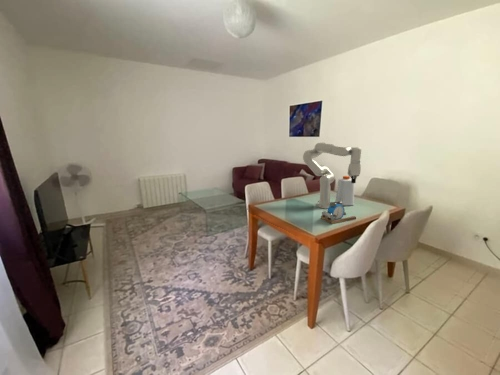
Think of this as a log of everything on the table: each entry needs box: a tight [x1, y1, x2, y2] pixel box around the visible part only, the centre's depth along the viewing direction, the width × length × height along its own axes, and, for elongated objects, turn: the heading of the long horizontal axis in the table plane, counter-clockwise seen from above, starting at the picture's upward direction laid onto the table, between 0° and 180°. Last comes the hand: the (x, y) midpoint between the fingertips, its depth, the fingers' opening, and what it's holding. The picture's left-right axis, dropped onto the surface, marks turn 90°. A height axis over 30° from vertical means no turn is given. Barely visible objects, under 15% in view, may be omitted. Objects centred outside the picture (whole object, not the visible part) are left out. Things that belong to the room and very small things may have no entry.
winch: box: [320, 210, 337, 225], centre depth 179 cm, size 16×5×8 cm, turn 21°
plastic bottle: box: [335, 175, 355, 207], centre depth 222 cm, size 15×15×28 cm
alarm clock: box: [326, 201, 346, 220], centre depth 183 cm, size 13×6×15 cm, turn 113°
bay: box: [335, 211, 357, 224], centre depth 185 cm, size 13×22×2 cm, turn 112°
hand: (353, 182), depth 194 cm, fingers closed
